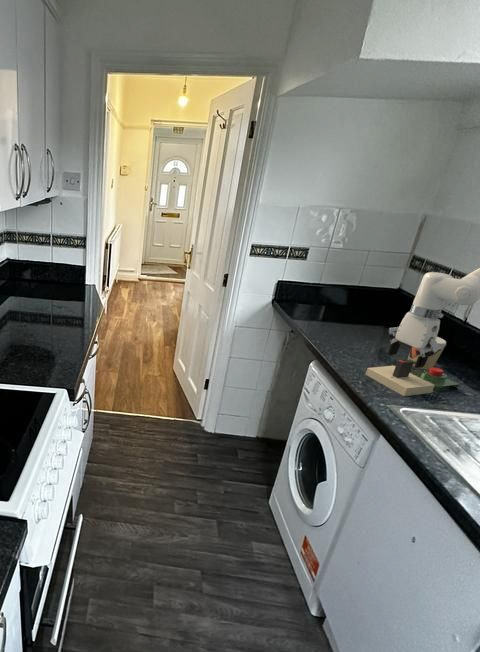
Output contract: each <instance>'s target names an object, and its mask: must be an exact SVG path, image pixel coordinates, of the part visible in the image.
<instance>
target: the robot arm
mask: <svg viewBox="0 0 480 652" xmlns="http://www.w3.org/2000/svg"><path fill="white" fill-rule="evenodd" d="M479 300H480V267H479V268H477V269H475V270H474V271H472V272H470V273H469V274H466V275H465V276H463V277H461V278H454V277H453V275H451V274H448V273H443V272H437V271H429V272H426V273H425V274H424V275H423V277H422V279H421V281H420V283H419V287H418V289H417V291H416V295H415V296H414V299H413V302H412V303H411V304H412V305H411V307H410V310H409V311H408V312H406V313H405V315H404V317H403V318H402V320H401V322H400V324H399V326H397V327H389V328H388V334H389V335H388V338H389V343H390V345H389V346H390V347H389V348H388V353H387V355H388V356H395V355H397V354H398V352H399V350H400V346H401V343H403V344H405V345H408V346H410V347H411V348H412V347H415V348H417V349H419V351H420V354H421V356H418V359H417V361H416V363H415V367H414V368H415V369H417V368H418V369H420V368H419V367H423V366H424V365H425V364H426V361H427V359H428V357H430V356H432V355H435V354H436V353H438V352H439V351H440V350H441V349H442V348H441V346H440V345H439V344H438V343H437V342H436V341H435V340H436V338H437V337H438V334H439V331H440V325H441V320H440V319H442V318H443V317H444V313H442V310H443V307H444V305H445V303H446V301H447V302H449V303H453V304H456V305H459V306H469V305H473V304H475V303H477V302H478V301H479ZM432 347H433V349H432V350H431V351H430V348H432Z"/></svg>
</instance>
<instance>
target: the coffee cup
mask: <svg viewBox="0 0 480 652" xmlns="http://www.w3.org/2000/svg"><path fill="white" fill-rule="evenodd" d="M435 341H436V342H437V343H438V344H439V345H440V346H441V348H442V349H441V350H440V351H439V352H438V353H436V354H435V355H432V356H430V357H428V359H427V361H426V364H425V365H424V366H423V367H419V368H418V369H417V368H416V367H415V363H416V361H417V359H418V356H421V354H420V351H419V349H417V348H415V347H412V346H411V348H410V350H409V354H408V357H407V360H411V361H413V362H414V363H413V366H412V368H411V370H414V371H420V370H421V369H422V370H424V369H430V368H431V367H434V368H435V365H436V363H437V362H438V360H439V358H440V356H441V355H442V352H443V351H444V349H445V348H446V346H447V341H446V340H445V339H443V338H441V337H439V336H437V338H436V340H435ZM432 349H433V347H432V348H430V351H431V350H432ZM419 369H420V370H419Z"/></svg>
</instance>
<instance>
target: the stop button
mask: <svg viewBox="0 0 480 652" xmlns="http://www.w3.org/2000/svg"><path fill="white" fill-rule="evenodd" d="M429 373H430V374H433V375H436V376H442V374H443V373H444V369H441V368H439V367H435V366H434V367H431V368H430V370H429Z"/></svg>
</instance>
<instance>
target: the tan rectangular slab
mask: <svg viewBox="0 0 480 652" xmlns="http://www.w3.org/2000/svg"><path fill="white" fill-rule="evenodd" d="M395 367H396V365H386V366H385V365H384V366H375V367H367V369H366V372H365V374H364V375H365V376H367V377H369V378H370V379H372V380H374V381H376V382H377V383H379V384H381V385H383V386H385V387H386V388H388V389H390V390H392V391H393V392H395V393H396V394H399V395H401V396H402V397H410V396H419V395H426V394H432V393H433V392H434V390H433V388H434V386H435V385H434V384H432V383H430V382H427V381H425V380H423V379H421V378H419V377H417V376H415V375H413V374H411V373H409V376H408V377H400V378H396V377H394V376H392V375H393V372H394V370H395Z"/></svg>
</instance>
